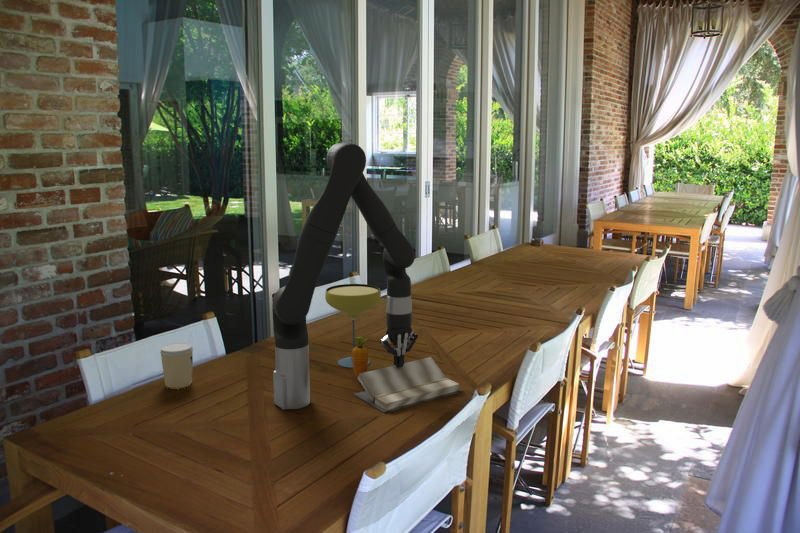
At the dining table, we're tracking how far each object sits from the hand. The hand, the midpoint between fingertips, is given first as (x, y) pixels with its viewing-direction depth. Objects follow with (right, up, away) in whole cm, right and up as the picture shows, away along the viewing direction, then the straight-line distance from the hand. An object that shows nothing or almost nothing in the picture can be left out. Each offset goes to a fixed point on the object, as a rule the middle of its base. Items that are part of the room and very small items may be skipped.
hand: (399, 366), depth 198 cm
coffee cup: (-67, -6, +4) cm, 67 cm away
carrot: (-12, -6, +6) cm, 14 cm away
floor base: (+3, -7, -3) cm, 8 cm away
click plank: (+1, -4, -1) cm, 4 cm away
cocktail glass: (-15, -3, +24) cm, 28 cm away
